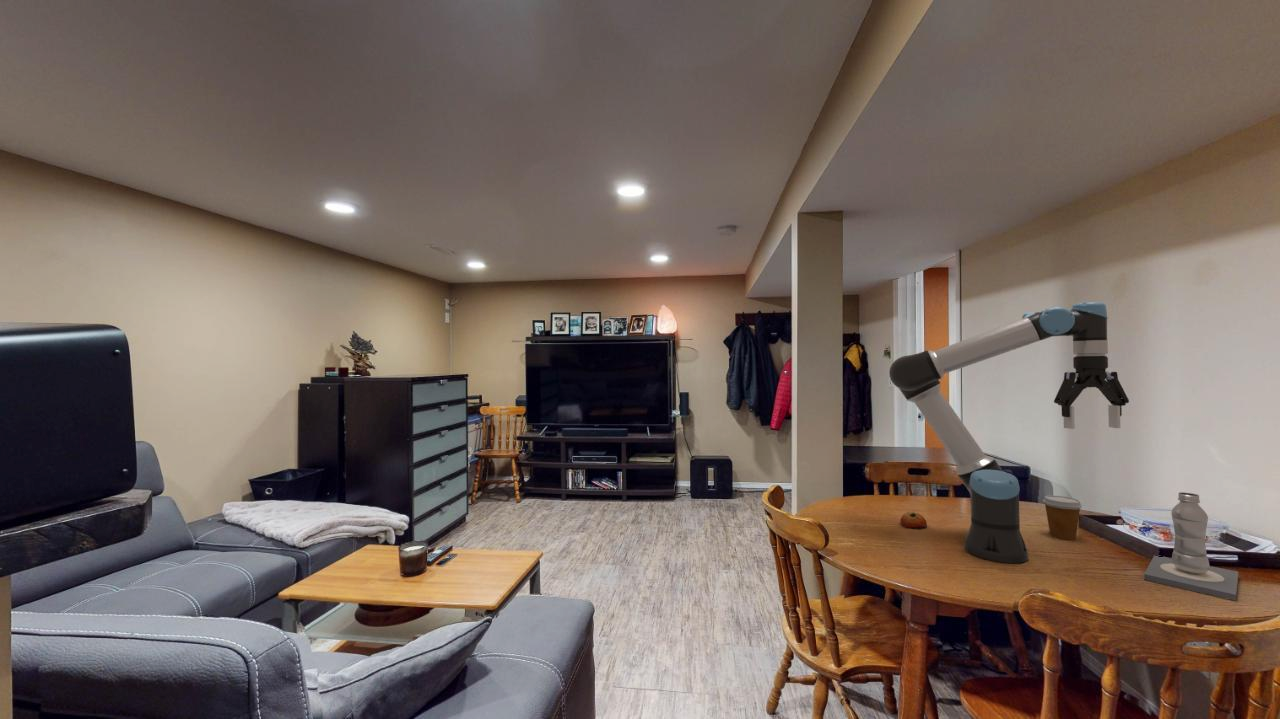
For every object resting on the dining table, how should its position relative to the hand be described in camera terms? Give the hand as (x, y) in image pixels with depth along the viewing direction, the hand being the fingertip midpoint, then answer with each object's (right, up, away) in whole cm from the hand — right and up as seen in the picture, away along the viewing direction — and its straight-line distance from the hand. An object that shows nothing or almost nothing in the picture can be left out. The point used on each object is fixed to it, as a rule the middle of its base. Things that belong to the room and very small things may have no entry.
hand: (1091, 428), depth 144 cm
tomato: (-38, -38, +26) cm, 60 cm away
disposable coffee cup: (+4, -37, +15) cm, 40 cm away
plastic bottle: (+10, -35, -17) cm, 40 cm away
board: (+10, -36, -17) cm, 41 cm away
